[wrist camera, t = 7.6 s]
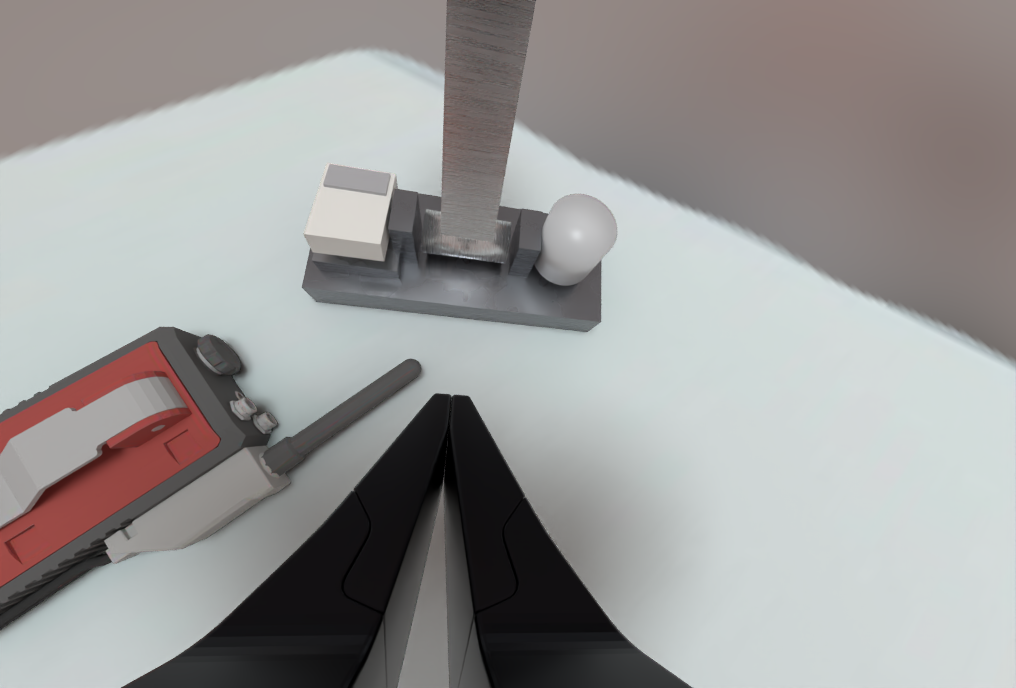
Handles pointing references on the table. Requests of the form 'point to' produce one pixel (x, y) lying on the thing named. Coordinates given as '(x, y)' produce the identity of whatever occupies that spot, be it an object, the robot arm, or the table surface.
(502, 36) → the ball-topped post
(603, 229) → the push button
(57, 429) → the walkie-talkie
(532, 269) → the slide switch base
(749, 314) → the table surface
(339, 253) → the white block
